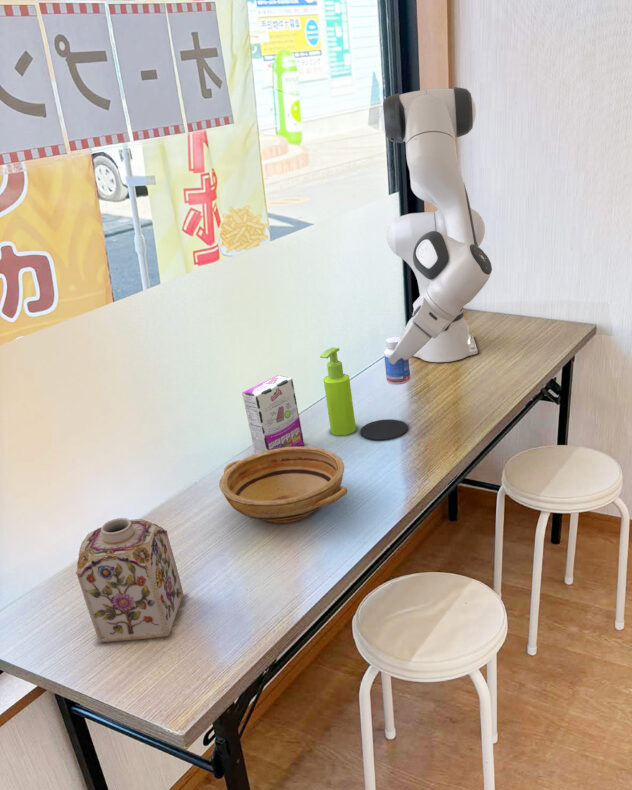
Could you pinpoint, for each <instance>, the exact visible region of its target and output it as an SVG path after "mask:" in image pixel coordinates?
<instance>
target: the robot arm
mask: <svg viewBox="0 0 632 790" xmlns="http://www.w3.org/2000/svg"><path fill="white" fill-rule="evenodd" d="M382 102H383V103H382V106H381V107H382V108H381V109H380V116H379V117H380V125H381V128H382V130H383V133H384V134H385V137H386V138H387V139H388V140H389V141H390V142H392V143H398V144H403V143H404V142H405V156H406V157H405V158H406V163H407V168H408V171H409V180H410V189H411V191H412V193H413V194H414V195H415V196H416V197H417V198H418V199H420V200H421V201H424V202H426V203H429V204H431V205H433V206H434V207H435V208H436V210H434V211H425V212H411V213H407V214H403V215H400V216H397V217H394V218H393V219H392V220H391V221H390V222H389V224H388V227H387V230H386V241H387V244H388V247H389V248H390V250H391V251H392V253H393V254H394V255H396V256H398V257H399V258H400V259H402V260H403V261H404V262H406V264H407V265H408V266H409V267H410V268H411V270H412V271H413V273H414V276H415V278H416V280H417V286H418V293H419V297H417V299H416V300H415V301H414V302H413V304H412V307H413V312H412V317H411V318H410V319H409V320H408V321H407V324H406V326H405V328H404V329H403V332H402V334H401V335H400V336H399V337H400V339H399V341H398V343H397V345H396V347H395V349H394V352H393V353H392V354H391V356H390V357H389V358H388V361H389V362H390V363H391V364H395V363H396V362H397V361H398V360H399V359H400V358H403V359H404V360H408V359H409V360H410V359H411V358H413V357H414V358H419V359H420V360H422V361H425V362H429V363H450V362H451V363H452V362H456V361H459V360H463V359H465V358H467V357H469V356H473V355H477V354H478V353H479V350H478V347H477V345H476V341H475V338H474V335H473V334H470V327H469V326H470V325H469V324H468V322H467V321H466V319H465V318H464V315H465V314H464V311H465V310H464V307H465V306H466V305H468V304H469V303H471V301H473V300H474V298H475V297H476V296H477V295H478V294H479V292H481V290H482V289H483V288H484V287H485V285H486V284H487V282H488V281H489V279H490V277H491V275H492V271H493V267H492V262H491V260H490V258H489V257H488V255H487V254H486V253H485V252H484V250H483V249H482V248H481V247H480V246H481V244H482V243H483V241H484V238H485V234H486V225H485V222H484V219H483V217H482V215H480V213H479V212H478V211H476V209H473V208H472V207H471V204H470V199H469V195H468V191H467V189H466V185H465V182H464V178H463V176H462V175H463V174H462V172H461V168H460V164H459V159H458V152H457V145H456V138H460V137H463V136H466V135H468V134H469V133H470V132H471V131H472V129H473V127H474V123H475V120H476V116H477V109H476V104H475V101H474V98H473V97H472V93H471V92H470V91H469V90H468V89H467V88H464V87H459V86H458V87H457V86H454V87H453V88H445V87H444V88H443V87H437V88H436V87H435V88H426V89H421V90H415V91H409V92H405V93H401V94H400V93H394V94H391V95H389V96H387V97H385V99H384V101H382Z"/></svg>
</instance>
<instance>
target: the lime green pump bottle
mask: <svg viewBox="0 0 632 790" xmlns="http://www.w3.org/2000/svg"><path fill="white" fill-rule="evenodd" d="M339 351H340V347H333V346H332V347H330V348H328V349H326V350H323V352H322V353H321V354H320V355H319V358H321V359H329V362H327V363H326V369H327V374H328V375H326V376H325V377H324V378H323V386H324V391H325V392H324V393H325V400H326V407H327V413H328V421H329V427H330V433H331V434H332V435H333V436H339V437H340V436H348V435H351V434H353V433H355V431H357V427H356V420H355V410H354V404H353V402H354V401H353V395H352V388H351V380H350V375H349V374H346V373H344V370H343V369H344V368H343V362H342V361H341V360H339V359H338V352H339Z"/></svg>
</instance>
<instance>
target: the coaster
mask: <svg viewBox="0 0 632 790" xmlns="http://www.w3.org/2000/svg"><path fill="white" fill-rule="evenodd" d="M407 432H408V425H407V423H406V422H404V421H402V420H398V419H378V420H375V421H371V422H369V423H367V424H365V425H363V426H362V427H361V428H360V431H359V433H360V435H361V437H362V438H363V439H365V440H369V441H376V442H379V441H381V442H383V441H390V440H394V439H397V438H400V437H402V436H403V435H405V434H406V433H407Z"/></svg>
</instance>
